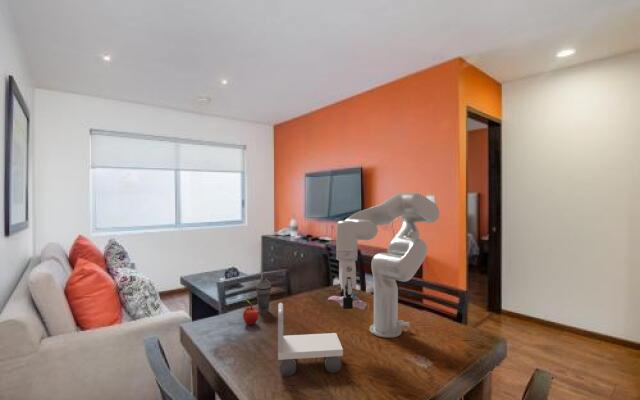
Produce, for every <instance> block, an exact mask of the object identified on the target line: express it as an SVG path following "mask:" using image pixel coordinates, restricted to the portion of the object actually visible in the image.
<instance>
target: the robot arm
mask: <svg viewBox="0 0 640 400" xmlns="http://www.w3.org/2000/svg"><path fill="white" fill-rule="evenodd" d="M440 214H441V213H440V208H439V207H438V205H437V204H436V203H435V202H433V201H432V200H431V199H429V198H428V197H426V196H425V195H422V194H421V193H417V192H400V193H396V194H394V195H392V196H391V197H389V198H388V199H386V200H385V201H382V203H380V204H378V205H374V206H371V207H368V208H366V209H362V210H360V211H357V212H355V213H354V214H352V215H350V216H349V217H347V218H346V219H345V220H339V221H338V222H337V223H336V249H335V250H336V253H335V254H336V258H335V259H336V260H337V261H338V264H339V266H338V276H339V277H338V280H339V284H340V297H342V296H344V297H343V306H342V309H344V310H352V309H353V308H354V307H353V302H354V299H353V297H352V293H353V289H354V290H357V267H356V261H358V241H371V240H373V239H375V237H376V236H377V234H378V232H379V231H378V230H379V229H378V226H385V225H389V224H391V223H393V222H394V221H395V220H397V219H398V218H399V217H401V218H400V220H401V227H400V229H399V230H398V231H397V233H396V234H395V235H394V237H393V238H391V241H390V242H389V243H388V246H387V252H378V253H376V254H375V255H373V257H372V259H371V265H370V266H371V272H372V273H371V274H372V276H373V324H371V325H370V326H369V331H370V333H371V334H372V335H374V336H376V337H379V338H388V339H389V338H391V339H392V338H397V337H399V336H401V335H402V331H403V330H402V329H403V328H410V327H411V326H410V322H409V321H404V320H399V319H398V318H399V317H398V314H399V311H398V310H399V309H398V306H399V305H398V303H399V302H398V301H399V298H398V297H399V291H398V290H399V287H398V284H397V281H399V282H409V281H410V280H411V279H412V278H413V277H414V276H415V274H416V273H417V272H418V270H419V269H420V267H421V265H422V264H423V262H425V259H426V257H427V253H428V246H427V244H426V242H425V241H424V240H423V239H421V238H420V231H419V228H418V227H417V224H416V223H425V224H426V223H427V224H430V223H431V224H432V223H436V222H437V221H438V220H439V218H440Z"/></svg>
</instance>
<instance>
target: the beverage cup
mask: <svg viewBox="0 0 640 400" xmlns="http://www.w3.org/2000/svg"><path fill="white" fill-rule="evenodd" d="M260 274H261V275H260V276H261V279H259V280H258V281H256V285H255V291H256V296H257V297H256V298H257V299H256V300H257V308H258V309H257V310H258V312H259V314H262V313H263V314H267V312H268V313H269V309H270V300H271V290H272V284H271V282H270V280H268V279H267V278H264V277H263V270H262V269H260Z"/></svg>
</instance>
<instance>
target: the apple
mask: <svg viewBox="0 0 640 400" xmlns="http://www.w3.org/2000/svg"><path fill="white" fill-rule="evenodd" d="M243 302H248V304H249V305H250V306H248V307H246V308H245V309H244V310H243V314H242V317H243V320H244V323H245V324H246V325H247V326H254V325H255V324H256V323H257V321H258V320H259V314H260V313H259V309H257V308H255V307H253V304H252V303H251V302H250V300H247V299H245V300H243Z"/></svg>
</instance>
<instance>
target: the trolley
mask: <svg viewBox="0 0 640 400" xmlns="http://www.w3.org/2000/svg"><path fill="white" fill-rule="evenodd" d="M277 311H278V312H277V360H278V361H280V362H279V372H280V374H282V376H284V377H291V376H293V375H294V374H295V373H296V371H297V363H296V360H298V359H299V360H301V359H313V358H314V359H315V358H325V360H324V366H325V369H326V371H327V372H329V373H330V374H336V373H338V372H339V371H340V370H341V368H342V360H341V358H340V357H344V348H343V347H342V344H341V341H340V339H339V337H338V334H337V333H336V332H332V333H331V332H330V333H328V332H327V333H311V334H310V333H309V334H291V335H284V304H283V303H282V302H279V303H278V304H277Z"/></svg>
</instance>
